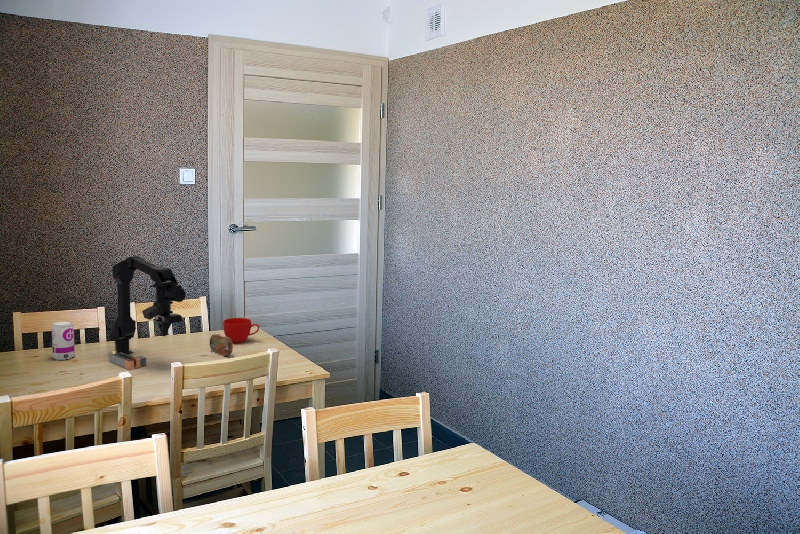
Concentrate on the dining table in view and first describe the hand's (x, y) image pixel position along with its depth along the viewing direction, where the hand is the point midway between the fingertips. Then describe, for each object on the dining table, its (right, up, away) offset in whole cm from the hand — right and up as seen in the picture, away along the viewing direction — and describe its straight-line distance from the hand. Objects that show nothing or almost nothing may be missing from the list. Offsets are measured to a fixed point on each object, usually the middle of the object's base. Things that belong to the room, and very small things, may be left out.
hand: (163, 336), depth 279 cm
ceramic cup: (+22, -7, +41) cm, 47 cm away
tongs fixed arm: (-17, -12, -1) cm, 21 cm away
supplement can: (-44, -10, +6) cm, 45 cm away
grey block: (-9, -12, -1) cm, 15 cm away
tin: (+19, -10, +20) cm, 29 cm away
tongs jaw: (-14, -11, 0) cm, 18 cm away
